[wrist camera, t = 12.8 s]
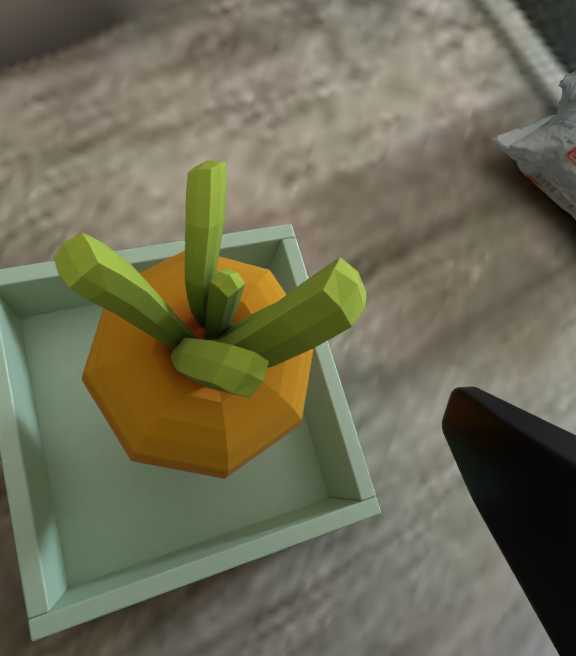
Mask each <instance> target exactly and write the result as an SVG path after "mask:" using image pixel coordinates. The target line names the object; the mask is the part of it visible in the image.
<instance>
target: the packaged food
mask: <svg viewBox="0 0 576 656" xmlns="http://www.w3.org/2000/svg"><path fill="white" fill-rule="evenodd" d="M558 86H560V87H561V88H562V98H561V100H560V102H559V108H558V111H557V114H556V115H551V116H548V117H545V118H543V119H541V120H539V121H536V122H534V123H532V124H529V125H526V126H524V127H522V128H520V129H514V130H511V131H509V132H508V133H504V134H501V135H497V136H495V137H494V138H492V142H493V143H494V144H495V145H496V147H497V148H498V149H499V150H503V151H504V152H505V153H507V154H508V155H509V156H510V158H511V159H513V160H516V161H517V165H518V167H519V169H520V171H521V172H522V173H523V174H524V175H525V176H526V177H527V178H528V179H530V180H531V181H532V182H533V183H534V184H535V185H536V186H538V187H539V188H540V189H541V190H542V191H543V192H544V193H546V194H547V195H548V196H549V197H550V198H551V199H552V200H553V201H554V202H555V203H557V204H558V205H559V206H560V207H561V208H562V209H564V210H565V211H567V212H568V213H570V214H571V215H572V216H573V218H574V219H575V221H576V72H573V73H571V74H568V75H565V77H564V79H563V80H561V82H560V84H559V85H558Z"/></svg>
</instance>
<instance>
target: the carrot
mask: <svg viewBox="0 0 576 656" xmlns="http://www.w3.org/2000/svg"><path fill="white" fill-rule="evenodd" d="M226 190H227V178H226V162H217V161H206V162H204V163H202V164H200V165H198V166H196V167H195V168H193V169H192V170H191V171H189V172H188V179H187V190H186V228H185V250H184V251H183V252H181V253H179V254H177V255H175V256H173V257H171V258H169V259H167V260H165V261H163V262H161V263H159V264H157V265H155V266H153V267H151V268H149V269H147V270H145V271H143V272H141V273H139V272H138V271H137V270H136V269H135V268H134V267H133V266H132V265H131V264H130V263H129V262H128V261H126V260H125V259H124V258H122V257H121V256H120V255H118V254H117V253H116V252H114V251H113V250H112V249H110V248H109V247H108V246H106V245H105V244H104V243H102V242H100V241H98V240H96V239H94V238H92V237H90V236H88V235H86V234H85V233H83V232H82V233H80V234H78V235H77V236H75V237H73V238H72V239H70V240H68V241H66V242H65V243H64V244H63V246H62V247H61V248H60V250H59V251H58V252H57V254H56V255H55V256H54V261H55V265H56V268H57V272H58V274H59V275H60V276H61V278H62V279H63V281H64V282H65V283H66V285H67V286H68V287H69V288H70V289H71V290H73V291H74V292H76V293H78V294H79V295H81V296H82V297H84V298H86V299H87V300H89V301H91V302H93V303H95V304H97V305H99V306H101V307H103V311H102V314H101V317H100V320H99V323H98V327H97V330H96V333H95V336H94V339H93V343H92V346H91V349H90V352H89V355H88V358H87V362H86V365H85V368H84V371H83V374H82V381H83V383H84V385H85V386H86V388H87V390H88V391H89V393H90V395H91V396H92V398H93V399H94V401H95V403H96V404H97V406H98V408H99V409H100V411H101V412H102V414H103V416H104V417H105V419H106V421H107V422H108V424H109V426H110V427H111V429H112V430H113V432H114V434H115V435H116V437H117V439H118V440H119V442H120V444H121V445H122V447H123V448H124V450H125V452H126V453H127V455H128V457H129V458H130V460H131V461H134V462H139V463H144V464H149V465H155V466H160V467H165V468H170V469H176V470H181V471H186V472H191V473H197V474H202V475H207V476H213V477H218V478H223V479H225V478H226V477H228V476H229V475H231V474H232V473H234V472H235V471H236V470H238V469H239V468H241V467H242V466H243V465H245V464H246V463H248V462H249V461H250V460H252V459H253V458H255V457H256V456H258V455H259V454H260V453H262V452H263V451H265V450H266V449H267V448H269V447H270V446H272V445H273V444H275V443H276V442H277V441H279V440H280V439H282V438H283V437H284V436H286V435H287V434H289V433H290V432H292V431H293V430H294V429H296V428H297V427H298V426H300V425H301V422H302V416H303V410H304V404H305V398H306V392H307V386H308V380H309V373H310V367H311V361H312V355H313V349H314V348H315V347H317V346H319V345H321V344H322V343H324V342H326V341H328V340H329V339H331V338H333V337H335V336H336V335H338V334H340V333H342V332H343V331H345V330H347V329H349V328H350V327H352V326H353V324H354V323H355V322H356V320H357V319H358V317H359V316H360V315H361V313H362V312H363V311H364V309H365V302H366V295H367V293H366V290H365V288H364V285H363V283H362V280H361V278H360V275H359V273H358V271H356V270H355V269H354V268H353V267H351V266H350V265H349V264H348V263H346V262H345V261H344V260H343V259H341V258H339V259H337V260H336V261H334V262H333V263H331V264H330V265H328V266H327V267H325V268H324V269H322V270H321V271H319V272H318V273H316V274H315V275H313V276H312V277H310V278H309V279H307V280H306V281H304V282H303V283H301V284H300V285H299V286H298V287H296V288H295V289H294V290H292V291H291V292H290V293H288V294H287V295H286V293H285V292H284V290H283V289H282V287H281V286H280V284H279V283H278V281H277V280H276V278H275V277H274V275H273V274H272V272H271V271H270V270H268V269H265V268H261V267H257V266H254V265H250V264H246V263H242V262H239V261H235V260H231V259H228V258H224V257H220V256H219V253H220V246H221V239H222V233H223V226H224V219H225V206H226Z"/></svg>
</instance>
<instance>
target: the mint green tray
mask: <svg viewBox="0 0 576 656" xmlns="http://www.w3.org/2000/svg"><path fill="white" fill-rule="evenodd" d="M184 250H185V240H184V241H177V242H171V243H164V244H158V245H152V246H145V247H139V248H133V249H126V250H120V251H114V252H116V253H117V254H118V255H120V256H121V257H122V258H124V259H125V260H126V261H128V262H129V263H130V264H131V265H132V266H133V267H134V268H135V269H136V270H137V271H138V272H139V273H141V272H143V271H145V270H147V269H149V268H151V267H153V266H155V265H157V264H159V263H161V262H163V261H165V260H167V259H169V258H171V257H173V256H175V255H177V254H179V253H181V252H183V251H184ZM219 256H220V257H224V258H228V259H231V260H235V261H239V262H242V263H246V264H250V265H254V266H257V267H261V268H265V269H268V270H270V271H271V272H272V274H273V275H274V277H275V278H276V280H277V281H278V283H279V284H280V286H281V287H282V289H283V290H284V292H285V293H286V295H287V294H288V293H290V292H291V291H292V290H294V289H295V288H296V287H298V286H299V285H300V284H301V283H303V282H304V281H306V280H307V279H308V276H307V272H306V269H305V266H304V263H303V259H302V256H301V253H300V250H299V247H298V243H297V240H296V238H295V234H294V231H293V227H292V225H291V224H285V225H279V226H273V227H266V228H260V229H254V230H247V231H241V232H235V233H228V234H222V239H221V246H220V253H219ZM102 311H103V307H101V306H99V305H97V304H95V303H93V302H91V301H89V300H87V299H86V298H84V297H82V296H81V295H79V294H78V293H76V292H74V291H73V290H71V289H70V288H69V287H68V286H67V285H66V283H65V282H64V281H63V279H62V278H61V276H60V275H59V274H58V272H57V268H56V265H55V261H50V262H43V263H37V264H31V265H24V266H18V267H12V268H5V269H0V455H1V461H2V467H3V473H4V479H5V485H6V491H7V497H8V503H9V509H10V515H11V521H12V527H13V533H14V539H15V546H16V552H17V558H18V564H19V570H20V576H21V582H22V588H23V594H24V600H25V606H26V612H27V617H28V618H30V619H29V621H28V624H29V631H30V637H31V640H32V641H36V640H39V639H42V638H44V637H47V636H50V635H52V634H55V633H58V632H61V631H63V630H66V629H69V628H72V627H74V626H77V625H80V624H82V623H85V622H88V621H91V620H93V619H96V618H99V617H101V616H104V615H107V614H110V613H112V612H115V611H118V610H121V609H123V608H126V607H129V606H131V605H134V604H137V603H140V602H142V601H145V600H148V599H150V598H153V597H156V596H159V595H161V594H164V593H167V592H170V591H172V590H175V589H178V588H180V587H183V586H186V585H189V584H191V583H194V582H197V581H199V580H202V579H205V578H208V577H210V576H213V575H216V574H219V573H221V572H224V571H227V570H229V569H232V568H235V567H238V566H240V565H243V564H246V563H248V562H251V561H254V560H257V559H259V558H262V557H265V556H268V555H270V554H273V553H276V552H278V551H281V550H284V549H287V548H289V547H292V546H295V545H297V544H300V543H303V542H306V541H308V540H311V539H314V538H317V537H319V536H322V535H325V534H327V533H330V532H333V531H336V530H338V529H341V528H344V527H346V526H349V525H352V524H355V523H357V522H360V521H363V520H366V519H368V518H371V517H374V516H376V515H379V514H381V510H380V507H379V504H378V501H377V498H376V497H375V496H376V494H375V491H374V488H373V485H372V481H371V478H370V475H369V472H368V468H367V465H366V462H365V459H364V456H363V452H362V449H361V446H360V443H359V439H358V436H357V433H356V430H355V427H354V423H353V420H352V417H351V414H350V411H349V407H348V404H347V401H346V398H345V394H344V391H343V388H342V385H341V382H340V378H339V375H338V372H337V369H336V366H335V362H334V359H333V356H332V353H331V349H330V346H329V343H328V341H326V342H324V343H322V344H321V345H319V346H317V347H315V348H314V349H313V355H312V361H311V367H310V373H309V380H308V386H307V392H306V398H305V404H304V410H303V416H302V422H301V425H300V426H298V427H297V428H296V429H294V430H293V431H292V432H290V433H289V434H287V435H286V436H284V437H283V438H282V439H280V440H279V441H277V442H276V443H275V444H273V445H272V446H270V447H269V448H267V449H266V450H265V451H263V452H262V453H260V454H259V455H258V456H256V457H255V458H253V459H252V460H250V461H249V462H248V463H246V464H245V465H243V466H242V467H241V468H239V469H238V470H236V471H235V472H234V473H232V474H231V475H229V476H228V477H226V478H225V479H223V478H218V477H213V476H207V475H202V474H197V473H191V472H186V471H181V470H176V469H170V468H165V467H160V466H155V465H149V464H144V463H139V462H134V461H131V460H130V458H129V457H128V455H127V453H126V452H125V450H124V448H123V447H122V445H121V444H120V442H119V440H118V439H117V437H116V435H115V434H114V432H113V430H112V429H111V427H110V426H109V424H108V422H107V421H106V419H105V417H104V416H103V414H102V412H101V411H100V409H99V408H98V406H97V404H96V403H95V401H94V399H93V398H92V396H91V395H90V393H89V391H88V390H87V388H86V386H85V385H84V383H83V381H82V374H83V371H84V368H85V365H86V362H87V358H88V355H89V352H90V349H91V346H92V343H93V339H94V336H95V333H96V330H97V327H98V323H99V320H100V317H101V314H102Z"/></svg>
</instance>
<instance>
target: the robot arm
mask: <svg viewBox="0 0 576 656" xmlns="http://www.w3.org/2000/svg"><path fill="white" fill-rule="evenodd" d="M442 429H443V433H444V436H445V438H446V440H447V443H448V445H449V447H450V449H451V452H452V454H453V456H454V459H455V461H456V463H457V465H458V468H459V470H460V472H461V475H462V477H463V479H464V482H465V484H466V486H467V488H468V491H469V493H470V495H471V497H472V499H473V501H474V503H475V505H476V507H477V509H478V511H479V512H480V514H481V516H482V518H483V519H484V521H485V523H486V525H487V527H488V528H489V530H490V532H491V534H492V536H493V537H494V539H495V541H496V543H497V545H498V546H499V548H500V550H501V552H502V553H503V555H504V557H505V559H506V561H507V562H508V564H509V566H510V568H511V570H512V571H513V573H514V575H515V577H516V578H517V580H518V582H519V584H520V586H521V587H522V589H523V591H524V593H525V595H526V596H527V598H528V600H529V602H530V604H531V605H532V607H533V609H534V611H535V612H536V614H537V616H538V618H539V620H540V621H541V623H542V625H543V627H544V629H545V630H546V632H547V634H548V636H549V637H550V639H551V641H552V643H553V645H554V646H555V648H556V650H557V652H558V654H559V655H560V656H576V435H574V434H572V433H570V432H568V431H566V430H564V429H562V428H559V427H557V426H555V425H553V424H551V423H549V422H547V421H545V420H543V419H541V418H539V417H537V416H535V415H532V414H530V413H528V412H526V411H524V410H522V409H520V408H518V407H516V406H514V405H512V404H510V403H508V402H506V401H503V400H501V399H499V398H497V397H495V396H493V395H491V394H489V393H487V392H485V391H483V390H481V389H479V388H476V387H458V388H456V389H454V390H453V391H452V392H451V395H450V398H449V401H448V404H447V407H446V410H445V413H444V416H443V420H442Z"/></svg>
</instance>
